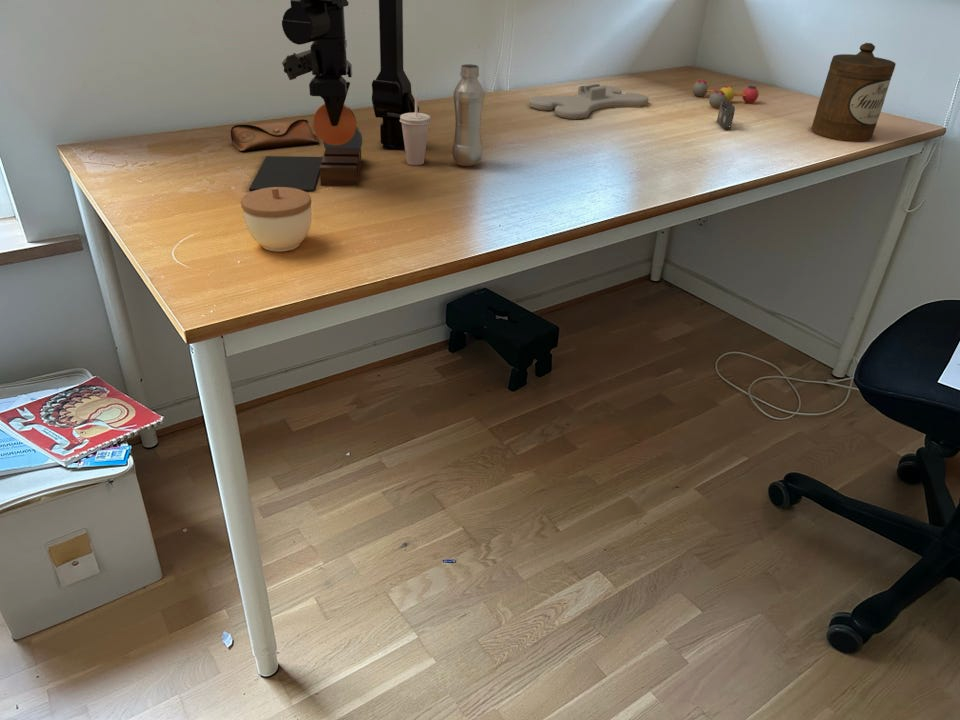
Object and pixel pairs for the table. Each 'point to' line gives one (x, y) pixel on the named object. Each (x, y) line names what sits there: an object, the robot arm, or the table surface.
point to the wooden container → (853, 95)
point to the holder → (587, 101)
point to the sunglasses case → (272, 135)
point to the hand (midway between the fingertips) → (334, 124)
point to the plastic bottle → (468, 117)
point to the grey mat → (288, 173)
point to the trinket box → (277, 217)
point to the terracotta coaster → (334, 133)
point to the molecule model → (724, 93)
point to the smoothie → (415, 135)
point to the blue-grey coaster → (352, 144)
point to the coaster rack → (340, 166)
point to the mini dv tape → (725, 114)
